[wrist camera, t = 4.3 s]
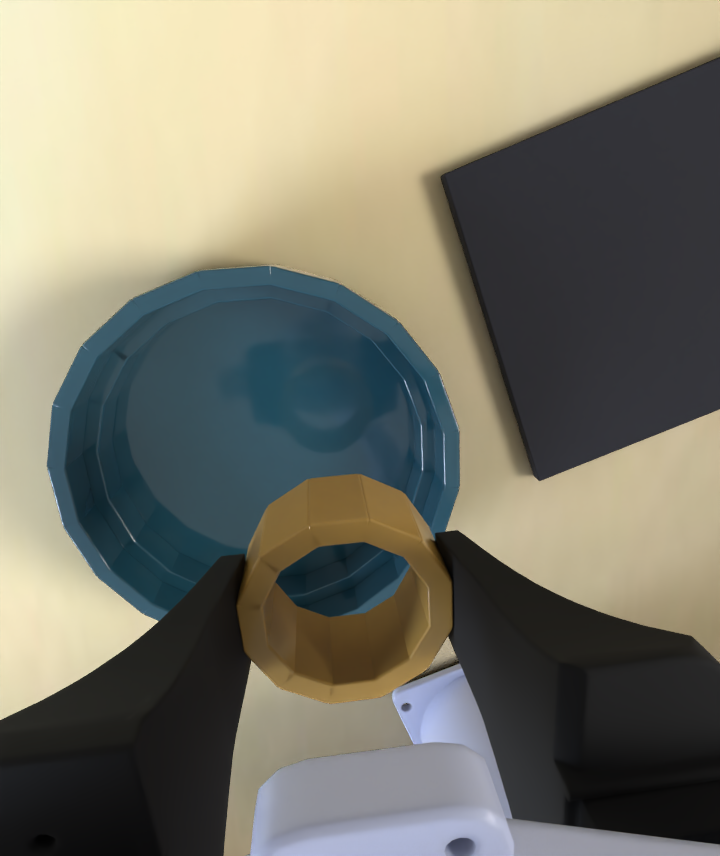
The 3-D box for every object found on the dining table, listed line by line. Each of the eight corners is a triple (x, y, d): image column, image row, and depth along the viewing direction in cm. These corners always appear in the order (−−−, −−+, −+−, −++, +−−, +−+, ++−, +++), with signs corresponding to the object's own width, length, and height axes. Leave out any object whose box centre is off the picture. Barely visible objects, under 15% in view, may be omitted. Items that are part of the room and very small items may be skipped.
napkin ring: (462, 572, 15) (491, 632, 13) (320, 660, 16) (322, 735, 13) (365, 439, 14) (377, 478, 11) (212, 541, 14) (191, 601, 12)
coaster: (791, 373, 23) (803, 376, 22) (533, 476, 23) (538, 481, 23) (751, 44, 19) (765, 37, 18) (439, 176, 19) (443, 174, 19)
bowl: (480, 520, 24) (507, 563, 21) (193, 635, 24) (175, 694, 21) (365, 205, 19) (376, 194, 16) (16, 352, 20) (-43, 371, 17)
